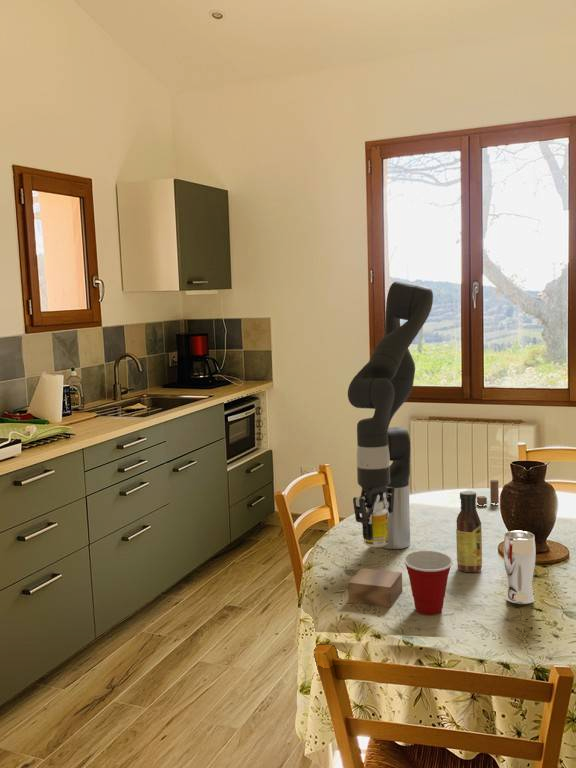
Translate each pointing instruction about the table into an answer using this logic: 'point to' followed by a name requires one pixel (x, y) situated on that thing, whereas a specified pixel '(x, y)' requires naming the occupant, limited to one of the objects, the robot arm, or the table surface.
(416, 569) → the plastic cup
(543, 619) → the table surface
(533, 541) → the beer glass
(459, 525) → the sauce bottle
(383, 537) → the supplement bottle
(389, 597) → the walnut block
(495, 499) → the wood blocks
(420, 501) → the table surface
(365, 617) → the table surface
